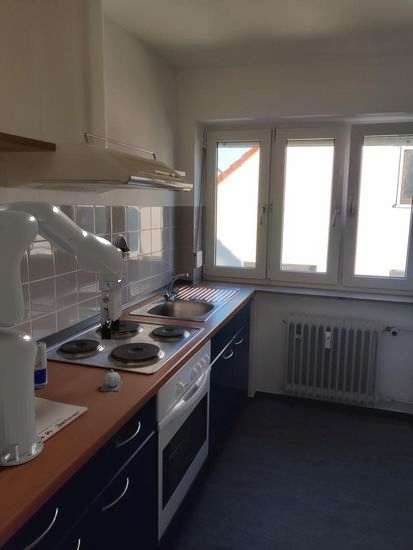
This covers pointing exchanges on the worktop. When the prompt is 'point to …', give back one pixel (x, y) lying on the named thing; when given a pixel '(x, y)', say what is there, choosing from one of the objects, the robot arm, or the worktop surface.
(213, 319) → the worktop surface
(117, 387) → the coaster
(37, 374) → the white bottle
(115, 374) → the garlic
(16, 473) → the worktop surface
